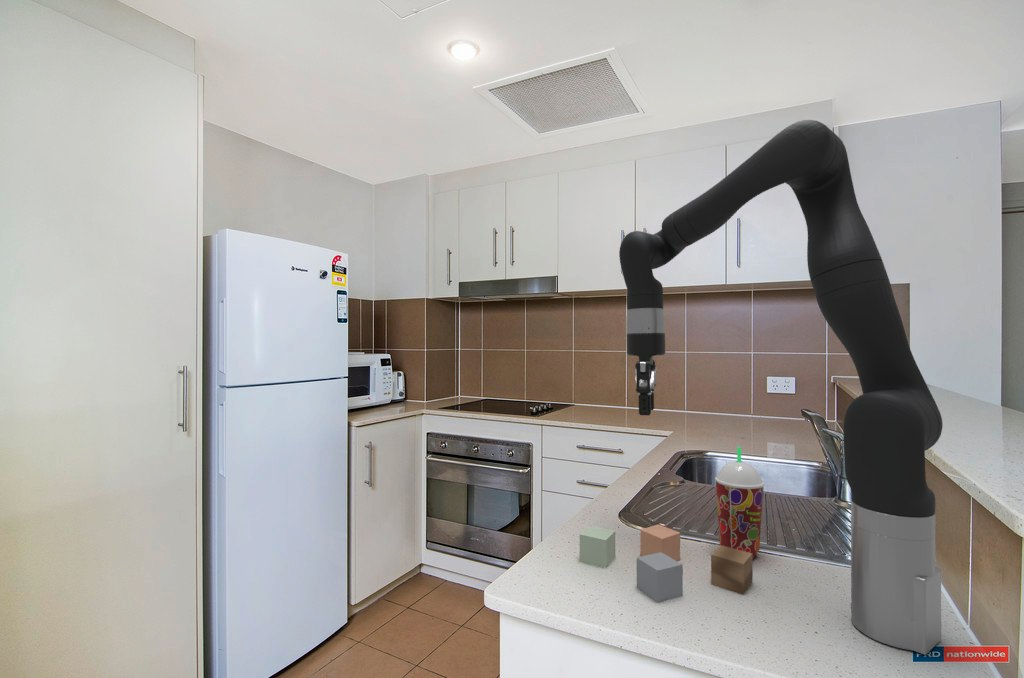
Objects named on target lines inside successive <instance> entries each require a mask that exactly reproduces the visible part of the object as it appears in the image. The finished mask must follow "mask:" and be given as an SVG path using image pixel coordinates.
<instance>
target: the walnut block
mask: <svg viewBox="0 0 1024 678" xmlns="http://www.w3.org/2000/svg"><path fill="white" fill-rule="evenodd" d="M753 559H754V558H753V553H749V552H745V551H741V550H738V549H734V548H730V547H726V546H723V545H720V546H719V547H717V549H716V550H714V552H712V553H711V555H710V563H711V564H710V585H711V586H715V587H716V588H717V587H718V588H720V589H724V590H726V591H730V592H733V593H737V594H740V595H742V596H744V595H745V594H746V593H747V591H748V590H749V588H750V587H751V586H752V585H753V573H754V572H753V571H754V570H753V569H754V567H753V564H754V563H753V562H754V561H753Z"/></svg>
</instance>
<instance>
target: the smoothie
mask: <svg viewBox="0 0 1024 678" xmlns="http://www.w3.org/2000/svg"><path fill="white" fill-rule="evenodd" d="M736 448H737V452H736V453H737V454H736V455H737V456H736V457H737V459H736V460H734V461H730V462H727V463H725V464H724V465H723V466H722V467H721V468H720V470H719V471H718V473H717V475H716V476H715V477H714V480H715V490H716V504H717V505H716V506H717V507H716V509H717V519H718V520H717V521H718V522H717V523H718V537H719V545H720V546H721V545H723V546H726V547H730V548H734V549H738V550H741V551H745V552H749V553H753V559H754V558H756V556H757V552H759V551H760V546H761V530H762V515H763V514H762V513H763V500H764V486H765V483H764V481H763V480H762V478H761V476H760V474H759V472H758V471H757V469H756V468H755V467H754V466H752V465H751V464H749V463H747V462H745V461H742V447H741V446H737V447H736Z"/></svg>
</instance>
